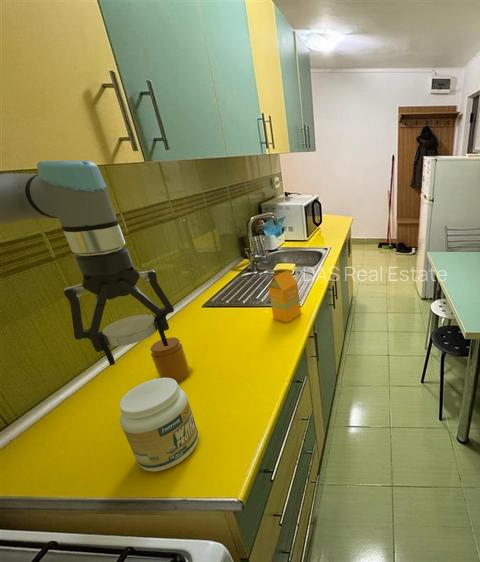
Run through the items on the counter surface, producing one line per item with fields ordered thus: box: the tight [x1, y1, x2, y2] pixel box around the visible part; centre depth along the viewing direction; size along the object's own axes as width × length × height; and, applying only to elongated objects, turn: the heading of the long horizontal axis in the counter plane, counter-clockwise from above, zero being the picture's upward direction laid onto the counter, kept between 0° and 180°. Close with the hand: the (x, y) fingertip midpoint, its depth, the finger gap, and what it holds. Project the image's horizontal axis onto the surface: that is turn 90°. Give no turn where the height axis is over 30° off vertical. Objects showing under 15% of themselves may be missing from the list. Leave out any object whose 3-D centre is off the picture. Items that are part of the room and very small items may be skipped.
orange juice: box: [268, 268, 302, 324], centre depth 126 cm, size 8×9×20 cm
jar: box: [149, 336, 191, 384], centre depth 93 cm, size 8×8×12 cm
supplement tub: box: [119, 377, 199, 472], centre depth 68 cm, size 12×12×17 cm
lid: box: [102, 314, 158, 347], centre depth 62 cm, size 9×9×2 cm
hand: (139, 352), depth 64 cm, fingers closed on lid, 9 cm apart
